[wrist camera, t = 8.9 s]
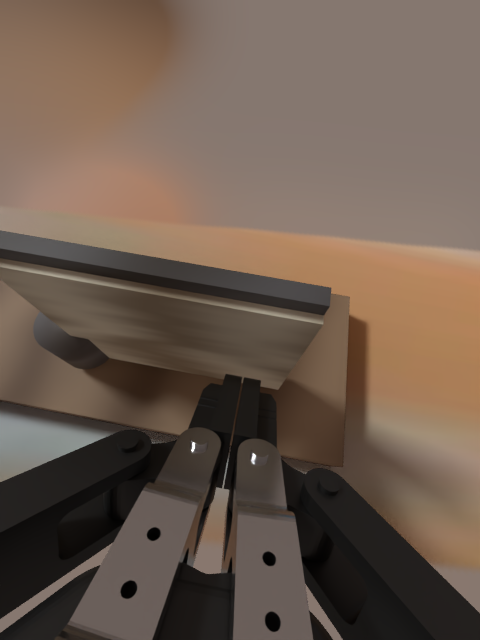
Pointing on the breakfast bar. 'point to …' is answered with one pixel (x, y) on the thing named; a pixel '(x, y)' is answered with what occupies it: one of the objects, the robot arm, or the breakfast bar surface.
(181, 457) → the robot arm
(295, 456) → the brown rectangular board
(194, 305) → the dark-edged wooden panel
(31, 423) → the breakfast bar surface
